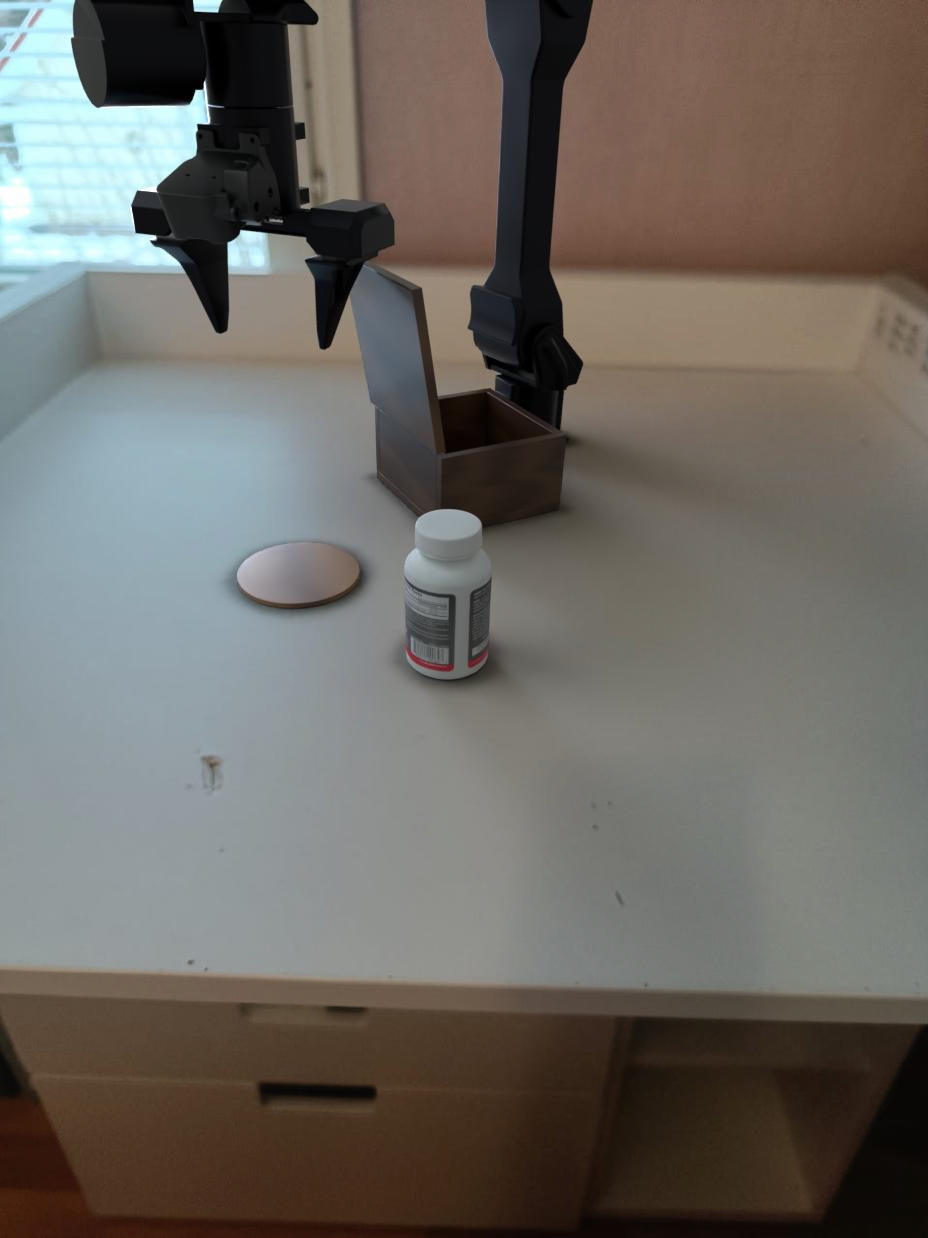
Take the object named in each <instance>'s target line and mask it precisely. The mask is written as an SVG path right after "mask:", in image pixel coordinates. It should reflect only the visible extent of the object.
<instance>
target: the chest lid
mask: <svg viewBox="0 0 928 1238" xmlns="http://www.w3.org/2000/svg"><path fill="white" fill-rule="evenodd" d="M349 299H350V305H351V308H352V309H351V310H352V316H353V319H354V320H353V321H354V325H355V330H356V335H357V341H358V346H359V350H360V351H359V352H360V357H361V362H362V365H363V370H364V376H365V381H366V384H367V385H366V386H367V392H368V396H369V401H370V403H371V404H372V405H373V406H374V407H375V406H376V407H377V408H379V409H380V410H381V411H382V412H384V413H385V414H386V415H388V416H389V417H390V418H391V419H393V420H394V421H395V422H396V423H398V424H399V425H400V426H401V427H403V428H404V429H405V430H407V431H408V432H409V433H410V434H412V435H413V436H414V437H415V438H417V439H418V440H419V441H420V442H422V443H423V444H424V445H426V446H427V447H428V448H429V449H431V450H432V451H433V452H434V453H436V454H440V453H443V452H445V451H446V450H445V443H444V436H443V429H442V422H441V415H440V408H439V402H438V396H439V395H438V389H437V382H436V381H437V380H436V374H435V367H434V361H433V360H434V359H433V353H432V347H431V339H430V333H429V327H428V319H427V313H426V306H425V298H424V292H423V287H421V286H420V285H417V284H416V283H414V282H412V281H410V280H408V279H405V278H404V277H402V276H400V275H397V274H396V273H393V272H392V271H389V270H388V269H386V268H383V267H382V266H379V265H378V264H376V263H374V262H372V261H370V260H368V261H365V263H364V265H363V267H362V269H361V271H360V273H359V275H358V277H357V279H356V281H355V283H354V285H353V287H352V290H351V292H350V294H349Z"/></svg>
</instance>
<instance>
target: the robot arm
mask: <svg viewBox="0 0 928 1238" xmlns="http://www.w3.org/2000/svg"><path fill="white" fill-rule="evenodd" d="M593 3H594V0H484V9H485V11H484V13H485V25H486V36H487V37H486V38H487V41H488V44H489V46H490V49H491V52H492V54H493V57H494V59H495V62H496V64H497V68H498V70H499V73H500V75H501V80H502V81H501V82H502V92H501V93H502V94H501V95H502V96H501V117H500V118H501V119H500V141H499V161H498V181H497V182H498V184H497V203H496V204H497V205H496V206H497V207H496V227H495V228H496V229H495V230H496V231H495V251H494V264H493V267H492V269H491V271H490V272H489V274H488V276H487V277H486V279H485V281H484V283H483V284H482V285H481V284H473V285H471V287H470V290H469V300H470V316H469V321H468V324H467V326H466V328H467V330H469V331H472V339H473V343H474V346H475V347H477V349H478V350H479V351H480V352H481V355H482V358H483V362H484V367H485V369H487V370H489V371H494V372H495V373H498V374H495V377H494V391H496V392H497V393H499V394H501V395H502V396H504V397H505V398H507V399H509V400H510V401H512V402H514V403H515V404H517V405H519V406H520V407H522V408H523V409H525V410H527V411H528V412H530V413H532V414H533V415H535V416H537V417H538V418H540V419H541V420H543V421H545V422H546V423H548V424H550V425H551V426H553V427H555V428H556V429H558V430H559V431H561V432H563V433H564V434H566V435H567V438H566V443H567V442H569V441H570V435H569V434H568V433H566V432H564V431H562V419H563V409H564V399H565V391H567V390H568V388H569V387H570V386H575V385H576V384H577V383H578V382H579V378H580V375H581V372H582V370H583V367H584V360H583V359H582V358H581V357H580V355H579V354H578V353H577V352H576V351H575V349H574V348H573V346H572V345H571V344H570V343H569V341H568V340H567V339H566V337H565V334H564V333H565V332H564V331H565V330H564V307H563V306H564V305H563V301H562V298H561V295H560V293H559V290H558V288H557V285H556V281H555V279H554V277H553V273H552V272H551V252H552V251H551V250H552V238H553V237H552V236H553V225H554V212H555V199H556V186H557V175H558V162H559V161H558V159H559V147H560V136H561V135H560V132H561V124H562V123H561V121H562V110H563V96H564V86H565V81H566V79H567V77H568V75H569V73H570V72H571V69H572V68H573V65H574V64H575V62H576V60H577V59H578V56H579V54H580V53H581V51H582V49H583V47H584V45H585V43H586V40H587V35H588V31H589V24H590V20H591V14H592V10H593ZM194 5H195V4H194V0H74V2H73V5H72V7H73V8H72V32H73V33H72V34H73V37H72V36H71V37H70V45H71V50H72V56H73V60H74V65H75V68H76V71H77V75H78V78H79V81H80V85H81V86H82V89H83V91H84V93H85V95H86V97H87V99H88V100H89V102H90V103H91V105H93V106H94V107H95V108H97V109H122V108H123V109H124V108H125V109H126V108H130V109H131V108H176V107H178V108H179V107H180V108H181V107H185V108H186V107H187V106H190V105H191V103H192V102H193V101H194V98H195V95H196V91H204V96H205V103H206V112H207V121H208V122H200V123H196V128H197V129H196V132H195V142H196V150H195V151H196V152H195V155H194V156H193V157H192V158H188V159H186V160H184V161H183V162H181V164H179V165H178V166H177V167H176V168H175V169H174V170H172V171H171V173H170V174H168V175H167V176H166V177H165V178H164V179H163V180H162V181H161V182H159V183H158V184H157V186H151V187H146V188H141V189H137V190H136V192H135V194H134V197H133V199H132V202H131V204H130V213H131V219H132V226H133V231H134V233H135V234H139V235H147V236H155V237H151V238H150V239H149V242H150V244H151V245H152V246H153V247H154V248H160V249H162V250H163V251H165V252H166V253H167V254H168V255H169V256H171V257H172V258H173V259H175V260H176V261H177V263H179V265H180V266H181V267H182V269H183V271H184V273H185V274H186V276H187V278H188V280H189V281H190V283H191V285H192V287H193V289H194V290H195V293H196V296H197V297H198V299H199V301H200V304H201V306H202V307H203V309H204V313H205V314H206V316H207V317H208V320H209V322H210V324H211V326H212V328H213V330H214V332H215V333H216V334H219V335H223V334H225V333H227V332H228V329H229V319H230V286H229V281H230V280H229V243H231V242H234V241H235V240H236V239H237V238H238V237H239V236H240V234H241V231H245V232H253V233H254V232H255V233H262V234H269V235H280V236H289V237H298V238H305V242H306V244H307V245H308V246H309V247H310V248H311V249H312V250H313V251H314V253H315V254H314V255H312V256H310V257H306V258H304V263H305V264H306V266H307V268H308V270H309V272H310V274H311V275H312V277H313V280H314V301H315V302H314V303H315V304H314V305H315V322H316V324H315V325H316V327H315V328H316V335H317V341H318V348H319V350H322V351H326V350H327V349H330V348H331V346H332V344H333V341H334V338H335V335H336V333H337V330H338V327H339V325H340V321H341V319H342V317H343V316H342V315H343V313H344V310H345V308H346V305H347V302H348V300H349V298H350V295H349V294H350V292H351V290H352V287H353V285H354V283H355V281H356V279H357V277H358V275H359V273H360V271H361V269H362V267H363V265H364V263H365V261H370V260H373V259H376V258H377V257H379V252H380V251H383V250H386V249H387V248H388V249H389V248H391V247H393V246H395V245H396V241H395V240H396V239H395V235H396V233H395V230H396V229H395V218H394V217H393V215H392V213H391V211H390V209H389V208H388V206H387V204H386V203H385V202H380V201H379V202H378V201H369V200H357V199H347V198H340V199H337V200H333V201H330V202H326V203H322V204H319V205H315V206H312V207H310V208H305V207H302V206H303V205H308V204H310V203H311V200H310V198H311V197H310V187H309V186H308V187H307V186H300V176H299V164H298V161H299V160H298V149H297V148H298V147H297V141H300V140H307V135H306V124H305V121H296V120H295V108H294V95H293V94H294V93H293V82H292V81H293V80H292V68H291V67H292V66H291V53H290V41H289V40H290V39H289V37H290V36H289V26H316V25H318V23H319V20H320V18H319V15H318V13H317V12H316V11H315V9H313V7H312V6H311V5H310V4H309V2H307V1H306V0H221V1H220V4H219V6H218V11H199V10H197V11H195V6H194ZM273 220H274V221H273ZM278 220H279V221H278Z"/></svg>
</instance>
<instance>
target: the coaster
mask: <svg viewBox="0 0 928 1238" xmlns="http://www.w3.org/2000/svg"><path fill="white" fill-rule="evenodd" d="M360 578H361V568H360V564H359V561H358V560H357V559H356V558H355V556H354V555H353V554H351V553H349V552H348V551H347V550H345V549H343V548H340V547H338V546H336V545H332V544H328V543H322V542H313V541H297V542H289V543H288V542H287V543H282V544H277V545H273V546H269V547H266V548H263V549H261V550H259V551H257V552H255V553H253V554H251V555H250V556H248V557H247V558H246V559H245V560H244V561H243V562H242V563H241V564H240V566H239V568H238V570H237V572H236V582H237V586H238V588H239V590H240V592H241V593H242V594H243V595H244V596H246V597H247V598H248V599H250V600H252V601H254V602H256V603H259V604H261V605H264V606H269V607H272V608H273V607H274V608H279V609H303V608H305V609H306V608H312V607H313V608H314V607H317V606H322V605H324V604H325V605H326V604H329V603H332V602H334V601H336V600H338V599H340V598H342V597H344V596H346V595H347V594H349V593H350V592H352V590H353V589H354V588H355V587H356V586H357V584H358V582H359V580H360Z"/></svg>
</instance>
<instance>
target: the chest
mask: <svg viewBox="0 0 928 1238" xmlns="http://www.w3.org/2000/svg"><path fill="white" fill-rule="evenodd" d="M438 402H439V408H440V415H441V422H442V429H443V436H444V443H445V450H446V451H445V452H443V453H440V454H436V453H434V452H433V451H432V450H431V449H429V448H428V447H427V446H426V445H424V444H423V443H422V442H420V441H419V440H418V439H417V438H415V437H414V436H413V435H412V434H410V433H409V432H408V431H407V430H405V429H404V428H403V427H401V426H400V425H399V424H398V423H396V422H395V421H394V420H393V419H391V418H390V417H389V416H388V415H386V414H385V413H384V412H382V411H381V410H380V409H379V408H377V407H376V406H375V405H374V423H375V424H374V427H375V459H376V479H377V480H379V482H381V483H382V484H383V485H384V486H385V487H386V488H387V489H388V490H389V491H390V492H391V493H392V494H393V495H394V496H395V497H397V498H398V500H400V502H402V503H403V504H404V505H405V506H406V507H408V509H410V510H411V511H412V512H413V513H414V514H415V515H416V516H417V517H418V518H419V517H421V516H422V515H424V514H426V513H428V512H431V511H435V510H442V509H454V510H461V511H465V512H468V513H471V514H473V515H474V516H476V517H477V518H478V519H479V520H480V521H481V524H482V528H485V527H489V526H490V527H491V526H495V525H500V524H503V523H507V522H512V521H515V520H520V519H525V518H528V517H533V516H537V515H542V514H546V513H551V512H554V511H555V512H556V511H558V510H560V509H561V508H560V507H561V500H562V499H561V498H562V489H563V478H564V469H565V468H564V466H565V457H566V448H567V442H566V438H567V435H568V434H567V433H566V434H567V435H566V434H564V433H565V432H564V431H562V430H561V431H562V432H561V431H559V430H558V429H556V428H555V427H553V426H551V425H550V424H548V423H546V422H545V421H543V420H541V419H540V418H538V417H537V416H535V415H533V414H532V413H530V412H528V411H527V410H525V409H523V408H522V407H520V406H519V405H517V404H515V403H514V402H512V401H510V400H509V399H507V398H505V397H504V396H502V395H501V394H499V393H497V392H496V391H495V389H493V388H490V387H488V388H487V387H486V388H481V389H474V390H468V391H462V392H456V393H449V394H443V395H438ZM563 432H564V433H563Z"/></svg>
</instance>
